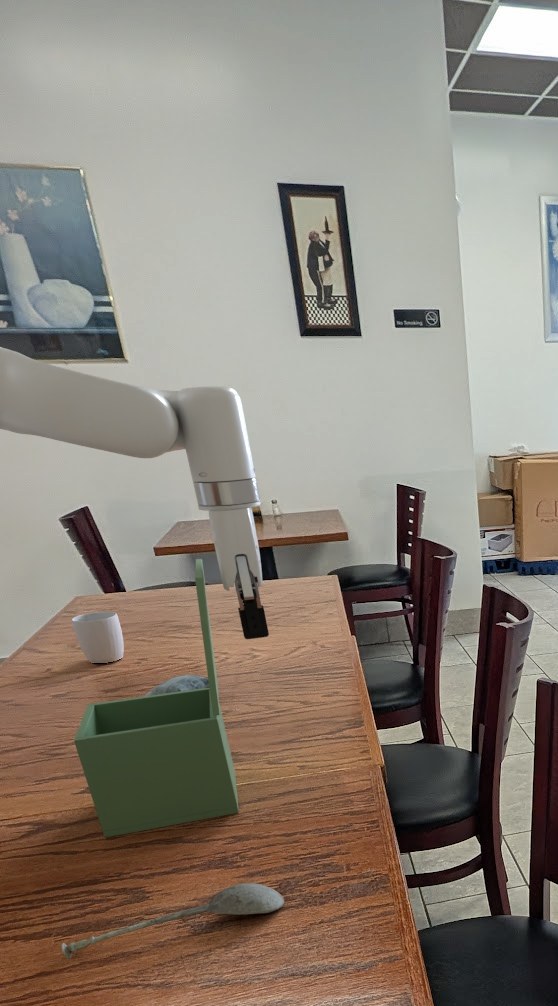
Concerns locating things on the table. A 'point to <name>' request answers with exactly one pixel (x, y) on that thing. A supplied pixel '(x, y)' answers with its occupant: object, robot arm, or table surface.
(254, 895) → the soupspoon
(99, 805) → the chest
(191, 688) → the grey blue stone
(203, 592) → the lid
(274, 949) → the table surface
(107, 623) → the mug
